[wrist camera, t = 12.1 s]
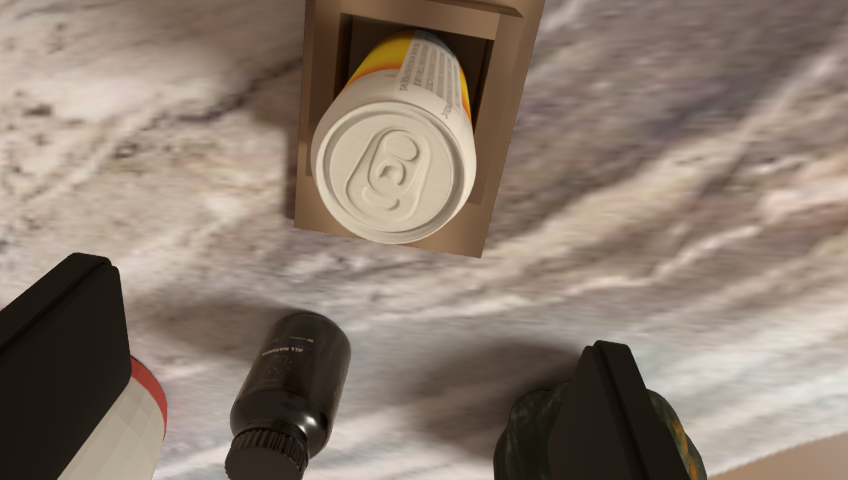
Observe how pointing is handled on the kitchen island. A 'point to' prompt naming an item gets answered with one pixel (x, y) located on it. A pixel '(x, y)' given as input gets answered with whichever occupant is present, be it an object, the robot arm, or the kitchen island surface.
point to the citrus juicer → (125, 434)
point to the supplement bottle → (288, 400)
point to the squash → (531, 426)
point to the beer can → (398, 142)
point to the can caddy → (485, 76)
